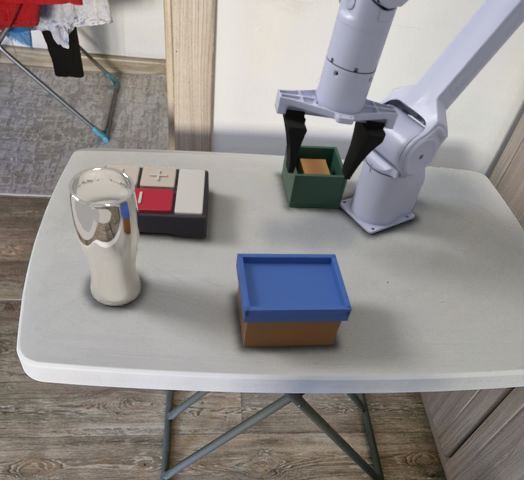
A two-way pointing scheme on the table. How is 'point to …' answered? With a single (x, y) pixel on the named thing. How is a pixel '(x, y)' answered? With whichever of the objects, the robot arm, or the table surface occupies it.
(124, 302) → the beer glass
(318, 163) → the block
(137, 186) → the calculator
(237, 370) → the table surface
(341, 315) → the lidded box
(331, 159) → the green storage bin
